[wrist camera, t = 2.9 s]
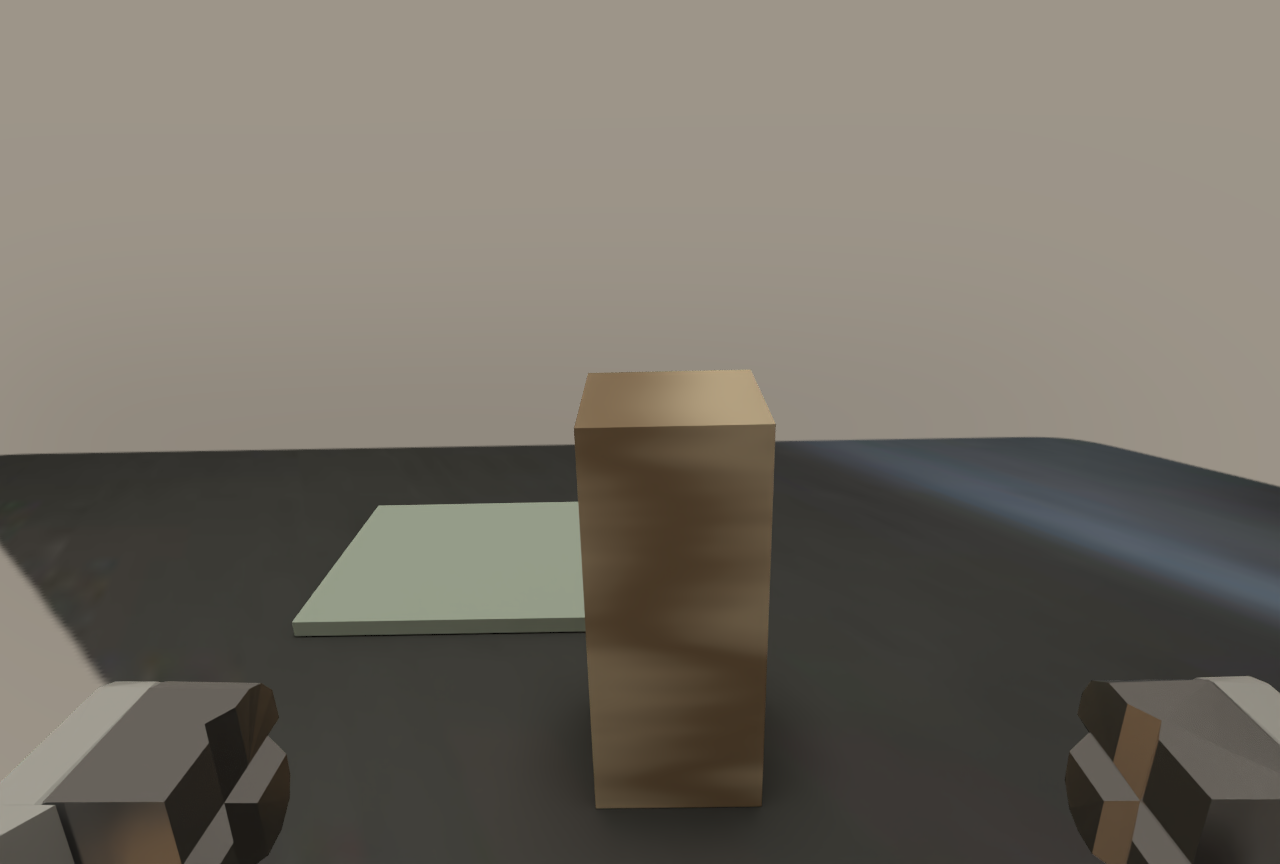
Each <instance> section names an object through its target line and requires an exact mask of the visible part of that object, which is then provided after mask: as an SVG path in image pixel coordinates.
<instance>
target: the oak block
mask: <svg viewBox="0 0 1280 864" xmlns="http://www.w3.org/2000/svg"><path fill="white" fill-rule="evenodd" d="M775 427H776V424H775V422H774V420H773V417H772V415H771V413H770V411H769V409H768V406H767V404H766V402H765V400H764V398H763V396H762V394H761V391H760V389H759V387H758V385H757V382H756V380H755V378H754V376H753V374H752V372H751V370H711V371H669V372H668V371H665V372H621V373H620V372H619V373H588V376H587V380H586V384H585V388H584V391H583V396H582V399H581V403H580V407H579V411H578V415H577V419H576V423H575V426H574V436H575V454H576V471H577V489H578V506H579V524H580V541H581V559H582V576H583V593H584V611H585V628H586V646H587V663H588V681H589V698H590V716H591V733H592V751H593V768H594V786H595V803H596V809H597V808H676V807H756V806H762V782H763V755H764V728H765V700H766V673H767V646H768V618H769V591H770V564H771V536H772V509H773V482H774V454H775Z"/></svg>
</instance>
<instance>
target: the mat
mask: <svg viewBox="0 0 1280 864" xmlns="http://www.w3.org/2000/svg"><path fill="white" fill-rule="evenodd" d="M292 625H293V630H294V635H295V636H336V635H396V634H456V633H516V632H576V631H586V628H585V611H584V593H583V576H582V559H581V541H580V524H579V506H578V502H545V503H494V504H442V505H391V506H378V507H377V509H376V510H375V511H374V513H373V514H372V515H371V517H370V518H369V519H368V521H367V522H366V523H365V525H364V526H363V527H362V529H361V530H360V531H359V533H358V534H357V535H356V537H355V538H354V540H353V541H352V542H351V544H350V545H349V546H348V548H347V549H346V550H345V552H344V553H343V554H342V556H341V557H340V558H339V560H338V561H337V562H336V564H335V565H334V566H333V568H332V569H331V570H330V572H329V573H328V575H327V576H326V577H325V579H324V580H323V581H322V583H321V584H320V585H319V587H318V588H317V589H316V591H315V592H314V593H313V595H312V596H311V597H310V599H309V600H308V601H307V603H306V604H305V605H304V607H303V608H302V610H301V611H300V612H299V614H298V615H297V616H296V618H295V619H294V620H293V622H292Z"/></svg>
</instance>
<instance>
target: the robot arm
mask: <svg viewBox="0 0 1280 864" xmlns="http://www.w3.org/2000/svg"><path fill="white" fill-rule="evenodd" d="M1077 715H1078V717H1079V718H1080V720H1081V721H1082V723H1083V724H1084V726H1085V727H1086V729H1087V730H1088V732H1089V733H1088V734H1087V735H1086V736H1085V737H1084V738H1083V739H1082V740H1081V741H1080V742H1079V743H1078V744H1077V745H1076V746H1075V747H1074V748H1073V749H1072V750H1070V751H1069V757H1068V764H1067V770H1066V776H1065V783H1066V790H1067V797H1068V803H1069V809H1070V812H1071V814H1072V817H1073V819H1074V822H1075V824H1076V827H1077V830H1078V832H1079V833H1080V835H1081V837H1082V838H1083V840H1084V841H1085V843H1086V845H1087V846H1088V848H1089V850H1090V851H1091V853H1092V854H1093V855H1094V856H1096V857H1097V858H1099V859H1100V860H1102V861H1103V862H1105V863H1106V864H1280V693H1279V692H1278V691H1276V690H1275V689H1274V688H1273V687H1272V686H1270V685H1269V684H1268V683H1265V682H1263V681H1260V680H1258V679H1255V678H1253V677H1250V676H1234V677H1203V678H1195V679H1194V680H1091V682H1090V683H1089V685H1088V686H1087V687H1086V689H1085V690H1084V692H1083V693H1082V696H1081V701H1080V705H1079V709H1078V714H1077ZM278 719H279V715H278V711H277V707H276V703H275V699H274V695H273V691H272V690H271V689H269V688H268V687H266V686H265V685H263V684H262V683H224V682H169V681H166V682H163V683H161V682H113V683H110V684H107V685H104V686H101V687H99V688H98V689H97V690H96V691H95V692H94V693H92V694H91V695H90V696H89V697H88V698H87V699H86V700H85V701H84V702H83V703H82V704H81V705H80V706H79V707H78V708H77V709H76V710H75V711H74V712H73V713H72V714H71V715H70V716H69V717H67V718H66V719H65V720H64V721H63V722H62V723H61V724H60V725H59V726H58V727H57V728H56V729H55V730H54V731H53V732H52V733H51V734H50V735H49V736H48V737H47V738H46V739H45V740H44V741H43V742H41V744H39V746H37V747H36V748H35V749H34V750H33V751H32V752H31V753H30V754H29V755H28V756H27V757H26V758H25V759H24V760H23V761H22V762H21V763H20V764H19V765H18V766H17V767H15V768H14V770H13V771H12V772H10V773H9V774H8V775H7V776H6V777H5V778H4V779H3V780H2V781H1V782H0V864H257V863H259V862H260V861H261V860H263V859H264V858H265V857H267V856H268V855H269V853H270V851H271V849H272V847H273V845H274V843H275V841H276V839H277V837H278V835H279V833H280V832H281V830H282V826H283V822H284V818H285V814H286V810H287V806H288V803H289V799H290V771H289V766H288V760H287V755H286V753H285V752H284V751H283V750H282V749H281V748H280V747H279V746H278V745H277V744H276V743H275V742H273V741H272V740H271V739H270V738H269V737H268V734H269V733H270V731H271V729H272V728H273V726H274V725H275V723H276V722H277V720H278Z"/></svg>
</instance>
